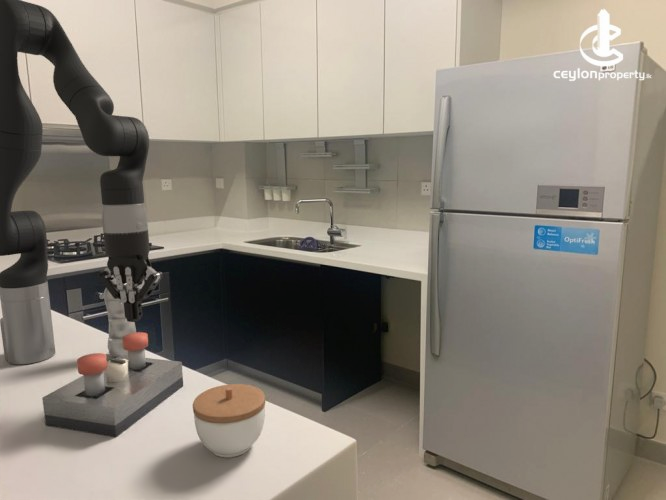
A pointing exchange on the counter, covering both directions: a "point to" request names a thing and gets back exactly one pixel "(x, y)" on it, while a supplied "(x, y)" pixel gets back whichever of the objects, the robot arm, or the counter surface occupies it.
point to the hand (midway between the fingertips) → (134, 320)
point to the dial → (117, 370)
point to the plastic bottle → (117, 325)
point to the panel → (113, 399)
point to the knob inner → (136, 349)
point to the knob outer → (93, 372)
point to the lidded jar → (229, 418)
